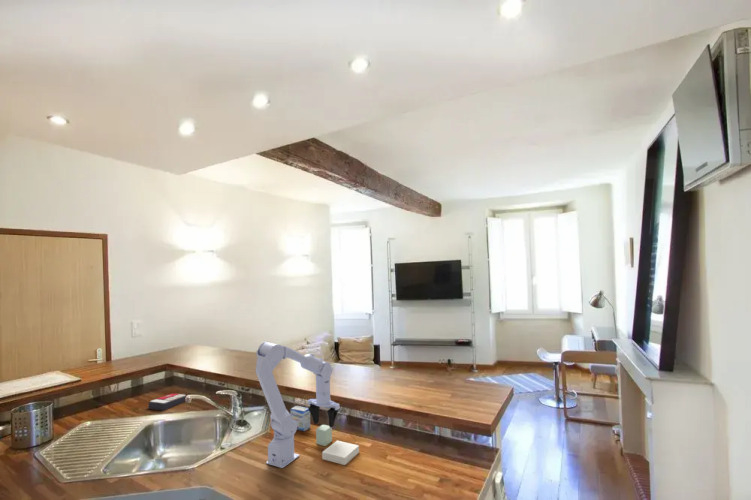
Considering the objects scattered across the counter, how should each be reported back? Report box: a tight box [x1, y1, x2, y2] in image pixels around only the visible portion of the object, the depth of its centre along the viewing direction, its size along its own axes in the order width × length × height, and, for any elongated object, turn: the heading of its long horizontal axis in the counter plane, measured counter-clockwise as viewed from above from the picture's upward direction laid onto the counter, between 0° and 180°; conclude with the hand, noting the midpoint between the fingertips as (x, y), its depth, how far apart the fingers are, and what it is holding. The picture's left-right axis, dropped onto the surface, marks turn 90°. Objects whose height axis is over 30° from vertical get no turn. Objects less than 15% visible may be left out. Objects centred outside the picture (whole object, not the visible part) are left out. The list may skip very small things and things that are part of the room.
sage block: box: [315, 424, 333, 447], centre depth 149 cm, size 4×4×6 cm
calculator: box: [147, 393, 187, 411], centre depth 198 cm, size 11×4×15 cm
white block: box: [321, 439, 360, 466], centre depth 138 cm, size 10×10×3 cm
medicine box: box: [290, 405, 311, 432], centre depth 163 cm, size 8×4×9 cm, turn 62°
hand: (324, 424), depth 149 cm, fingers open, 7 cm apart
